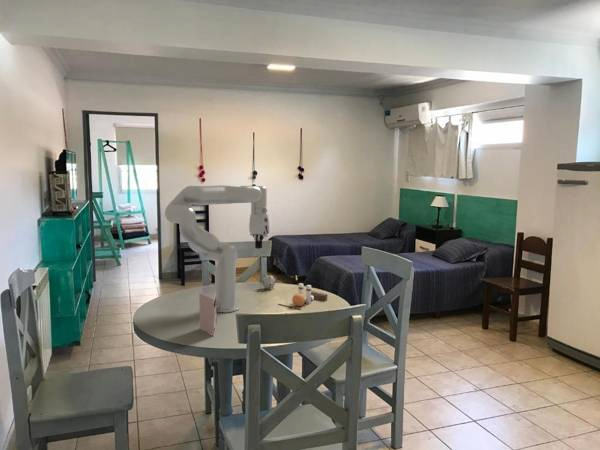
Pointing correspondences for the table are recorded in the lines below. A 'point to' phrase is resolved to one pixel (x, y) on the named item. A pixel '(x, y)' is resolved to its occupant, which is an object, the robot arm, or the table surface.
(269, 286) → the game die
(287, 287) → the table surface
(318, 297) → the backstop wall
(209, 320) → the greeting card
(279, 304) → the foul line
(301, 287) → the pin
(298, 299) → the ball
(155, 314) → the table surface
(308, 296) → the pin
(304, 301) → the front pin
